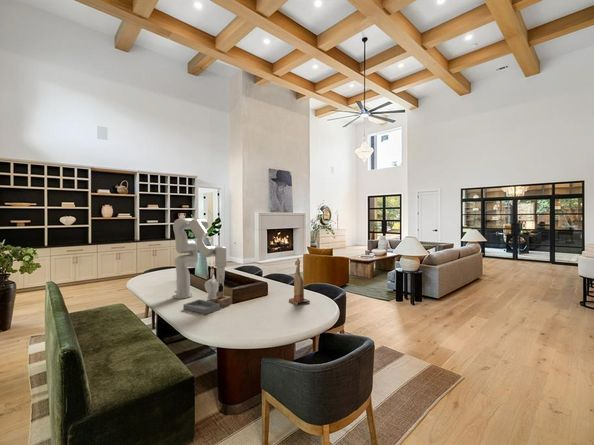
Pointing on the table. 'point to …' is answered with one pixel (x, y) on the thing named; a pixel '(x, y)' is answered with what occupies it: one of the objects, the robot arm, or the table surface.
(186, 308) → the tray
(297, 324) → the table surface
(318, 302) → the table surface
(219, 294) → the dowel
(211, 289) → the shell sculpture
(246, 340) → the table surface
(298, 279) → the bird sculpture
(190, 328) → the table surface
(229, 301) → the holder block
